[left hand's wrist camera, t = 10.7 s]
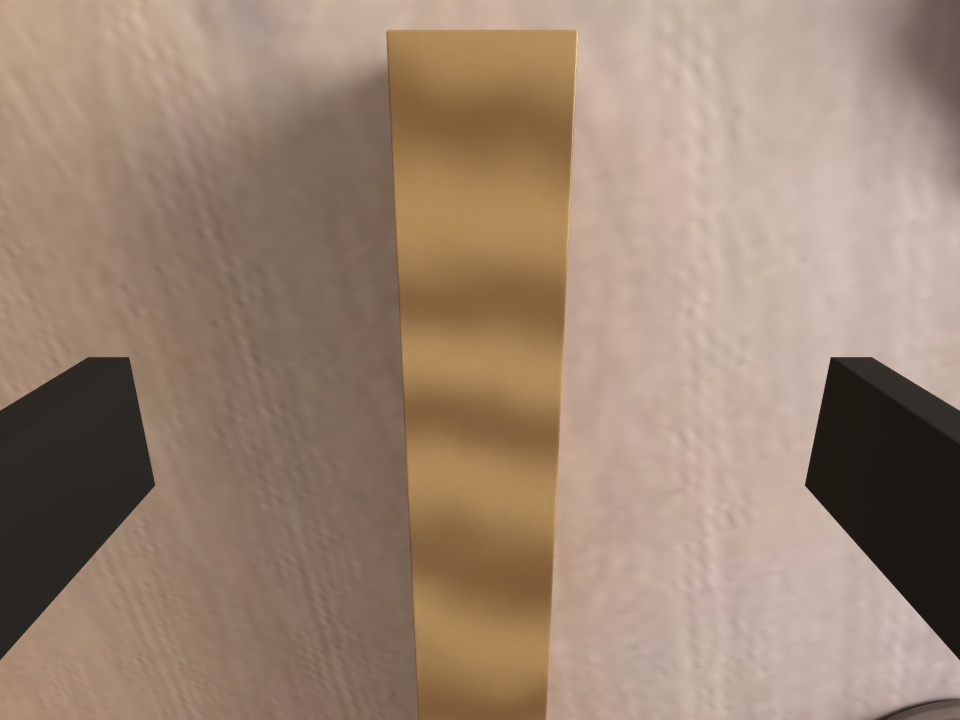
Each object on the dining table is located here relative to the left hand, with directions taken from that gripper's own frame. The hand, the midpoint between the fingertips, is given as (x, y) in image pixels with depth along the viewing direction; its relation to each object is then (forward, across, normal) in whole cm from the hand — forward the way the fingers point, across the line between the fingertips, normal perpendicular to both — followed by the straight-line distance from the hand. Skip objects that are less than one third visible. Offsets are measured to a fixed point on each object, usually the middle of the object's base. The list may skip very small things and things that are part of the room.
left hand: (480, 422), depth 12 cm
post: (+18, 0, -22) cm, 29 cm away
